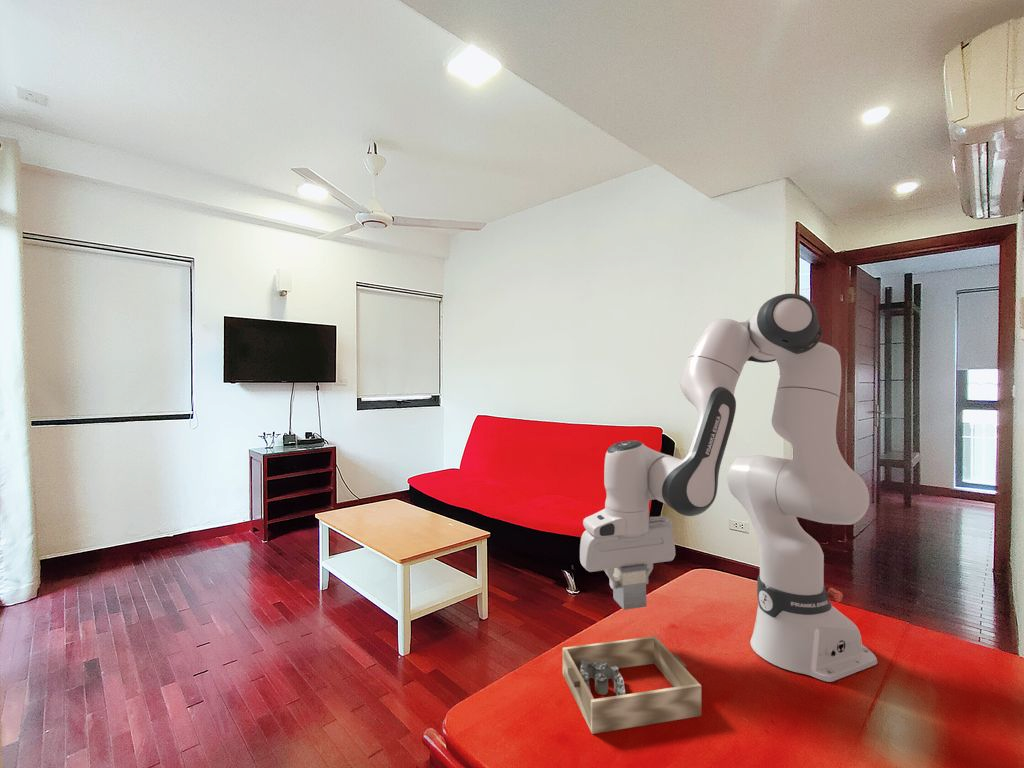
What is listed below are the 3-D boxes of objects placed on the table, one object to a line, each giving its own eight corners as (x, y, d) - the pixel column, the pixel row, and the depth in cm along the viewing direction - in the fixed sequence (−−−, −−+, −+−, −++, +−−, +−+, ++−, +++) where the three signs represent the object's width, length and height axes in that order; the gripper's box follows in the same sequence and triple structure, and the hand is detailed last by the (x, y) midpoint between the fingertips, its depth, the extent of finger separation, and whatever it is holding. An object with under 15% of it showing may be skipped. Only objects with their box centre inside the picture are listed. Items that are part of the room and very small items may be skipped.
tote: (659, 660, 91) (659, 635, 91) (706, 715, 77) (706, 684, 77) (558, 674, 87) (558, 648, 87) (586, 734, 73) (586, 703, 72)
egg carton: (627, 723, 75) (627, 698, 75) (580, 718, 76) (580, 694, 76) (621, 680, 86) (621, 658, 86) (580, 676, 87) (580, 655, 87)
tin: (635, 594, 100) (634, 555, 100) (647, 606, 95) (646, 565, 95) (612, 598, 99) (611, 558, 99) (623, 610, 94) (622, 568, 94)
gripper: (664, 510, 102) (665, 572, 102) (575, 520, 98) (578, 585, 98) (680, 519, 96) (682, 585, 96) (587, 530, 91) (589, 599, 92)
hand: (629, 585), depth 97 cm, fingers closed on tin, 5 cm apart
